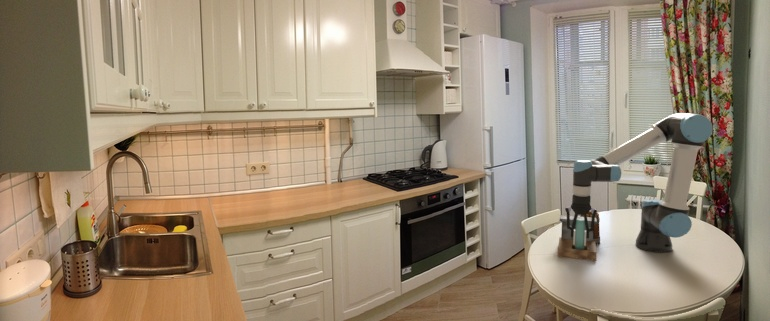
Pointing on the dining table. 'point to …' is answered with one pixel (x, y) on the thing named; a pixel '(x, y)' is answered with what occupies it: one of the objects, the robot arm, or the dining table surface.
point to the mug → (595, 227)
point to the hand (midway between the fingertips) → (579, 244)
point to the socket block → (568, 248)
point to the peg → (579, 234)
